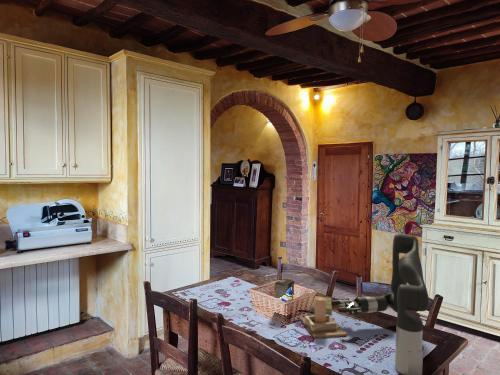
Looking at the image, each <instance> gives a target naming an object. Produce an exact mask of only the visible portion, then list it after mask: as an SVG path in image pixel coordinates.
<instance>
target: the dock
mask: <svg viewBox="0 0 500 375" xmlns="http://www.w3.org/2000/svg"><path fill="white" fill-rule="evenodd" d="M299 320H300V322H302V324H303V326H304V327H305V328H306V330H307V331H308V333H309V334H310V335H311V337H312V338H313V339H320V338H321V339H322V338H323V339H324V338H333V337H334V338H337V337H347V336H348V333H347V332H346V331H345V329H344V328H343V327H341V326H340V324H338V323H337V322H336V320H335V319H333V317H332V316H331V315H330V314H326V323H314V315H305V316H304V317H300V318H299Z"/></svg>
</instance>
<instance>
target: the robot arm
mask: <svg viewBox="0 0 500 375" xmlns="http://www.w3.org/2000/svg"><path fill="white" fill-rule="evenodd" d="M418 239H419V238H417V236H415V235H411V234H405V233H403V234H402V233H396V234H395V235H394V236H393V239H392V240H393V241H392V254H391V255H392V260H391V261H392V262H391V264H392V266H391V267H392V272H391V273H392V274H391V281H390V290H391V293H386V294H384V295H380V296H358V297H355V298H354V299H353V300H352V299H350V298H349V297H343V298H342V297H340V298H339V297H338V298H337V300H332V301H331V305H332V307H333V306H341V307H338V308H337V309H338V310H337V312H338V313H341V314H342V313H347V314H349V315H359V314H361V315H362V314H367V313H369V314H370V313H376V312H377V313H378V312H385V311H386V310H388V307H390V308H391V309H392V310H393V311H394V312H395V313H396V314H397V315H396V333H395V334H396V335H395V350H394V352H395V354H394V355H395V356H394V369H395V371H396V372H398V373H399V374H401V375H423V360H424V351H423V331H424V330H423V329H424V322H423V321H422V320H421V318H419V317H417V316H415V315H413V314H411V313H410V312H409V311H412V312H413V311H414V312H415V311H416V312H425V311H427V310H428V309H429V306H430V305H429V304H430V299H429V298H430V297H429V292H428V288H427V286H426V284H425V279H424V275H423V274H424V273H423V268H422V262H421V258H420V250H419V249H420V248H419V240H418ZM400 254H404V255H403V256H401V257H400Z"/></svg>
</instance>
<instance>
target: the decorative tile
mask: <svg viewBox="0 0 500 375" xmlns="http://www.w3.org/2000/svg"><path fill="white" fill-rule="evenodd" d="M314 296H315V298H317V297H320V296H318V295H314ZM321 297H322V298H325V299H326V315H332V314H333V306H332V305H331V301H333V300H332V297H325V296H321ZM315 298H314V301H313V304H312V309H311V313H314V314H315Z"/></svg>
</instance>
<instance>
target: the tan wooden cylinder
mask: <svg viewBox="0 0 500 375" xmlns="http://www.w3.org/2000/svg"><path fill="white" fill-rule="evenodd" d="M322 297H323V296H319V297H317V298H315V313H314V315H313V316H314V323H326V315H327V314H326V299H325V298H322Z"/></svg>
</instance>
